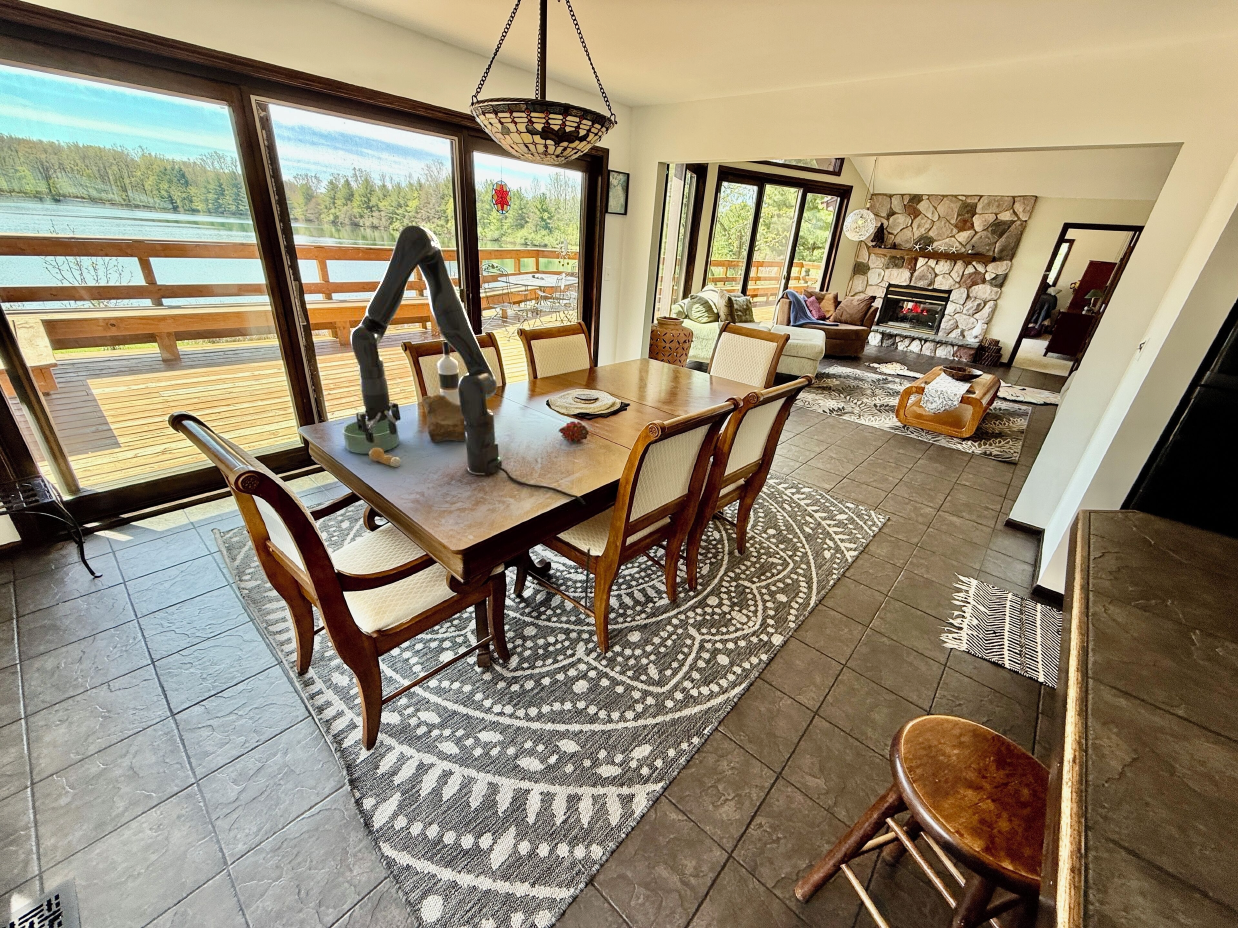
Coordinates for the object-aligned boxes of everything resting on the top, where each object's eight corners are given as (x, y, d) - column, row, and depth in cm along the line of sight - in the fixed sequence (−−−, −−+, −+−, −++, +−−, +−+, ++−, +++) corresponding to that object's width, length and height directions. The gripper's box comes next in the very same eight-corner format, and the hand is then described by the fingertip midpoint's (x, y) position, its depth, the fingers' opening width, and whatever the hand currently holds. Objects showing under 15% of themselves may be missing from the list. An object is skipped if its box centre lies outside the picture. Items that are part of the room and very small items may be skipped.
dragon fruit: (589, 447, 186) (560, 447, 189) (592, 429, 190) (563, 429, 193) (584, 435, 179) (554, 436, 182) (587, 416, 183) (557, 417, 186)
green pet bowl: (410, 442, 177) (407, 424, 174) (370, 459, 162) (366, 440, 159) (376, 432, 183) (373, 415, 180) (335, 447, 169) (331, 429, 165)
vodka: (446, 415, 203) (439, 344, 190) (437, 409, 209) (429, 340, 196) (466, 411, 209) (461, 342, 196) (457, 405, 215) (451, 338, 202)
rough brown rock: (407, 443, 178) (401, 406, 170) (432, 424, 192) (428, 389, 184) (464, 454, 174) (460, 417, 166) (486, 434, 188) (483, 399, 180)
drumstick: (405, 465, 160) (403, 452, 158) (394, 470, 156) (392, 457, 154) (378, 456, 165) (376, 444, 163) (367, 461, 161) (364, 448, 159)
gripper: (363, 398, 142) (371, 448, 149) (402, 387, 154) (408, 433, 161) (346, 393, 145) (355, 442, 152) (385, 383, 157) (391, 429, 164)
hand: (382, 438), depth 157 cm, fingers open, 8 cm apart
